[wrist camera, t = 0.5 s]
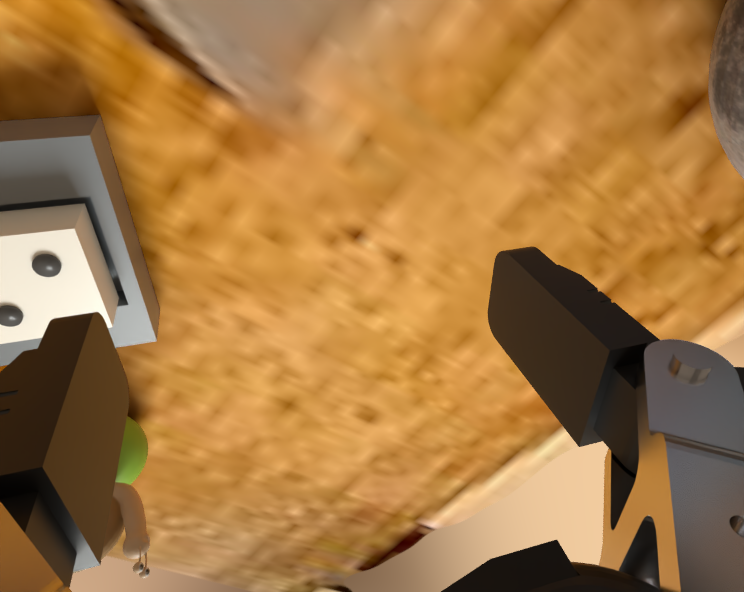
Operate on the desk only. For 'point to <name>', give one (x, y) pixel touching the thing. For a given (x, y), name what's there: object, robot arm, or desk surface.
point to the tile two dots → (50, 270)
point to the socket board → (77, 186)
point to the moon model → (729, 82)
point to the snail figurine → (129, 500)
